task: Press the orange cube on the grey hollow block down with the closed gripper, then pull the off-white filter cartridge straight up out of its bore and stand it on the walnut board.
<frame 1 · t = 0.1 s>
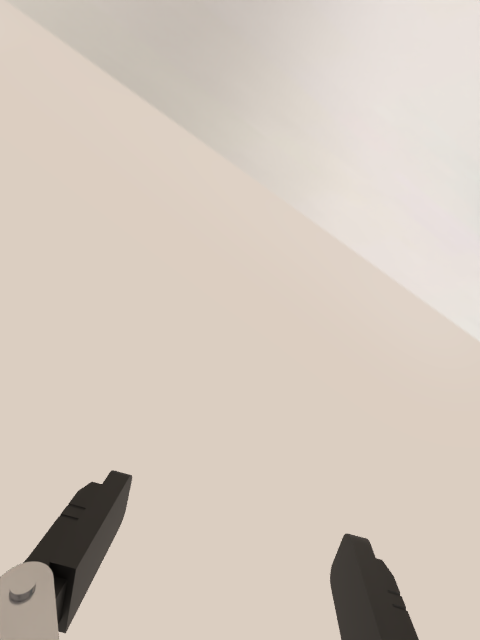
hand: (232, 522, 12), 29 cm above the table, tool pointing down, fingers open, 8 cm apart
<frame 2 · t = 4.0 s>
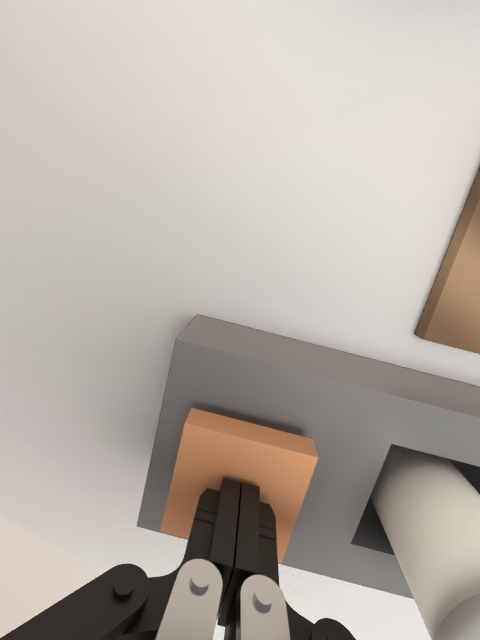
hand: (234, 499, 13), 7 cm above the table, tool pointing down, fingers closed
grey hollow block: (324, 429, 20), on the table
filter cartridge: (388, 445, 20), resting in grey hollow block
orange cube: (239, 457, 15), point 5 cm above the table, slide at 1.5 cm, touching gripper
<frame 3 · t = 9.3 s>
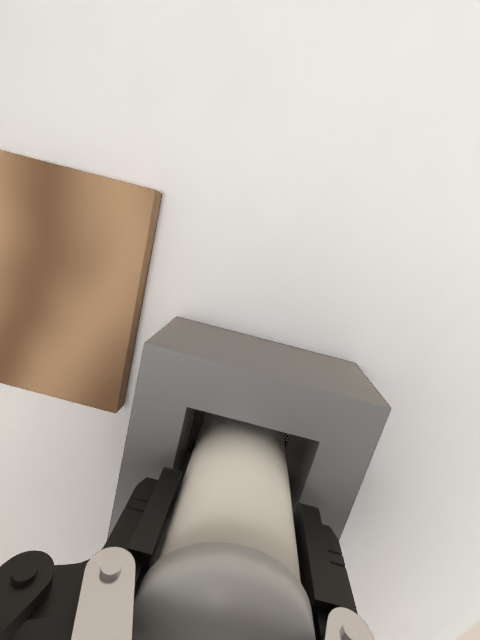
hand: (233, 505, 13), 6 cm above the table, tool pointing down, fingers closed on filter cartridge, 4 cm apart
grey hollow block: (227, 478, 20), on the table
filter cartridge: (243, 420, 19), resting in grey hollow block, touching gripper
walnut board: (35, 279, 18), on the table
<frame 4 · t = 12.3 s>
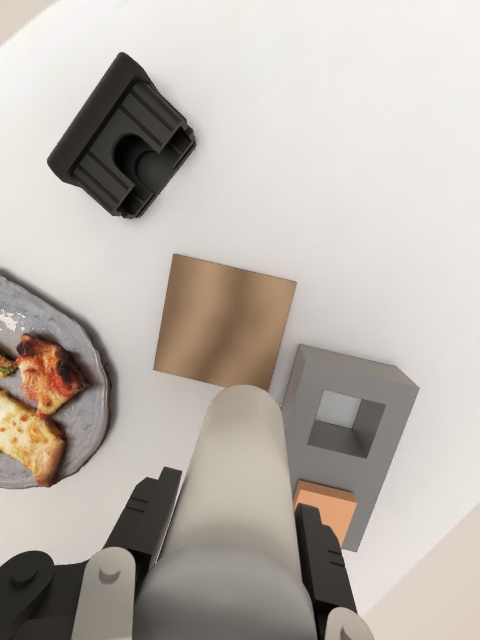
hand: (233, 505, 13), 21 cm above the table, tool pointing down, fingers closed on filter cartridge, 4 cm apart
end cap: (139, 156, 30), on the table
grey hollow block: (323, 432, 35), on the table
filter cartridge: (244, 420, 19), point 15 cm above the table, touching gripper
orange cube: (316, 499, 32), point 4 cm above the table, slide at 2.1 cm
food plate: (11, 381, 37), on the table
walnut board: (222, 325, 33), on the table
when the fingers open (9 cm above the table, at t = 15.4 s): filter cartridge drops 1 cm, resting on walnut board.
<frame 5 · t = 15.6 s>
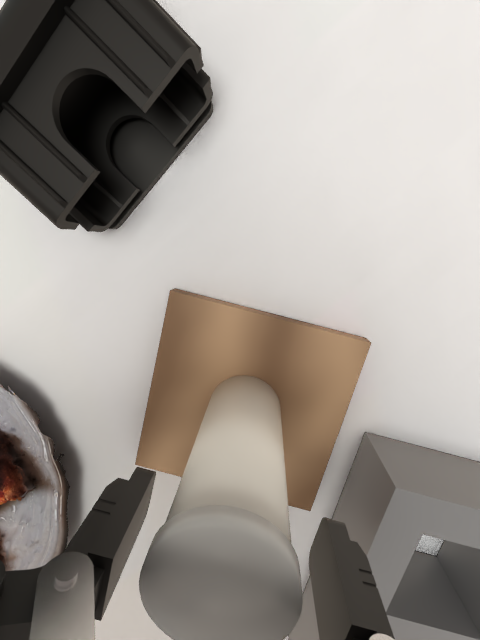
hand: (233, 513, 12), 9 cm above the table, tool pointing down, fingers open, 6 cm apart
end cap: (118, 128, 18), on the table
grey hollow block: (391, 559, 23), on the table
filter cartridge: (244, 408, 20), point 1 cm above the table, touching walnut board
walnut board: (245, 400, 21), on the table
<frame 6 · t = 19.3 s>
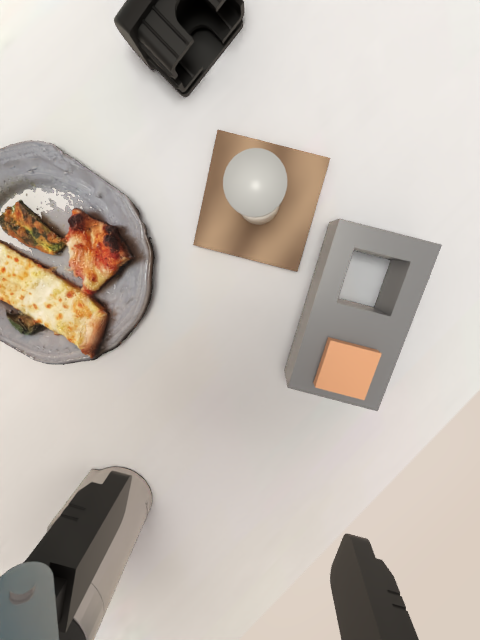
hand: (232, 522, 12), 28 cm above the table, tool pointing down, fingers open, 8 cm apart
end cap: (189, 37, 33), on the table
grey hollow block: (347, 311, 38), on the table
filter cartridge: (258, 203, 35), point 1 cm above the table, touching walnut board
orange cube: (342, 362, 35), point 4 cm above the table, slide at 2.1 cm
food plate: (57, 261, 39), on the table
walnut board: (259, 204, 36), on the table
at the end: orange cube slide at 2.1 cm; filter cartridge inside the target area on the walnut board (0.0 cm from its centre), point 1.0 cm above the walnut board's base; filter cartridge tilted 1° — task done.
